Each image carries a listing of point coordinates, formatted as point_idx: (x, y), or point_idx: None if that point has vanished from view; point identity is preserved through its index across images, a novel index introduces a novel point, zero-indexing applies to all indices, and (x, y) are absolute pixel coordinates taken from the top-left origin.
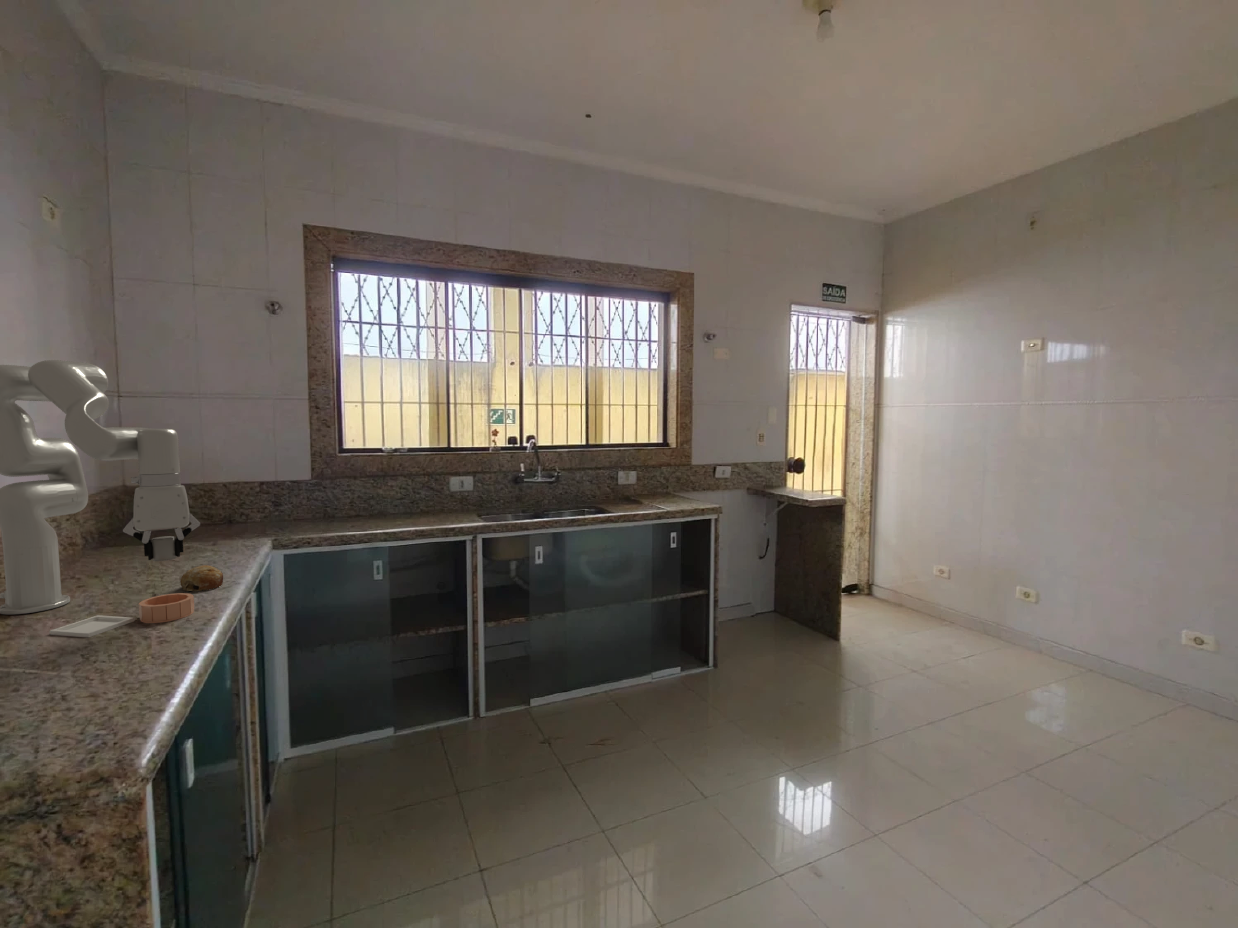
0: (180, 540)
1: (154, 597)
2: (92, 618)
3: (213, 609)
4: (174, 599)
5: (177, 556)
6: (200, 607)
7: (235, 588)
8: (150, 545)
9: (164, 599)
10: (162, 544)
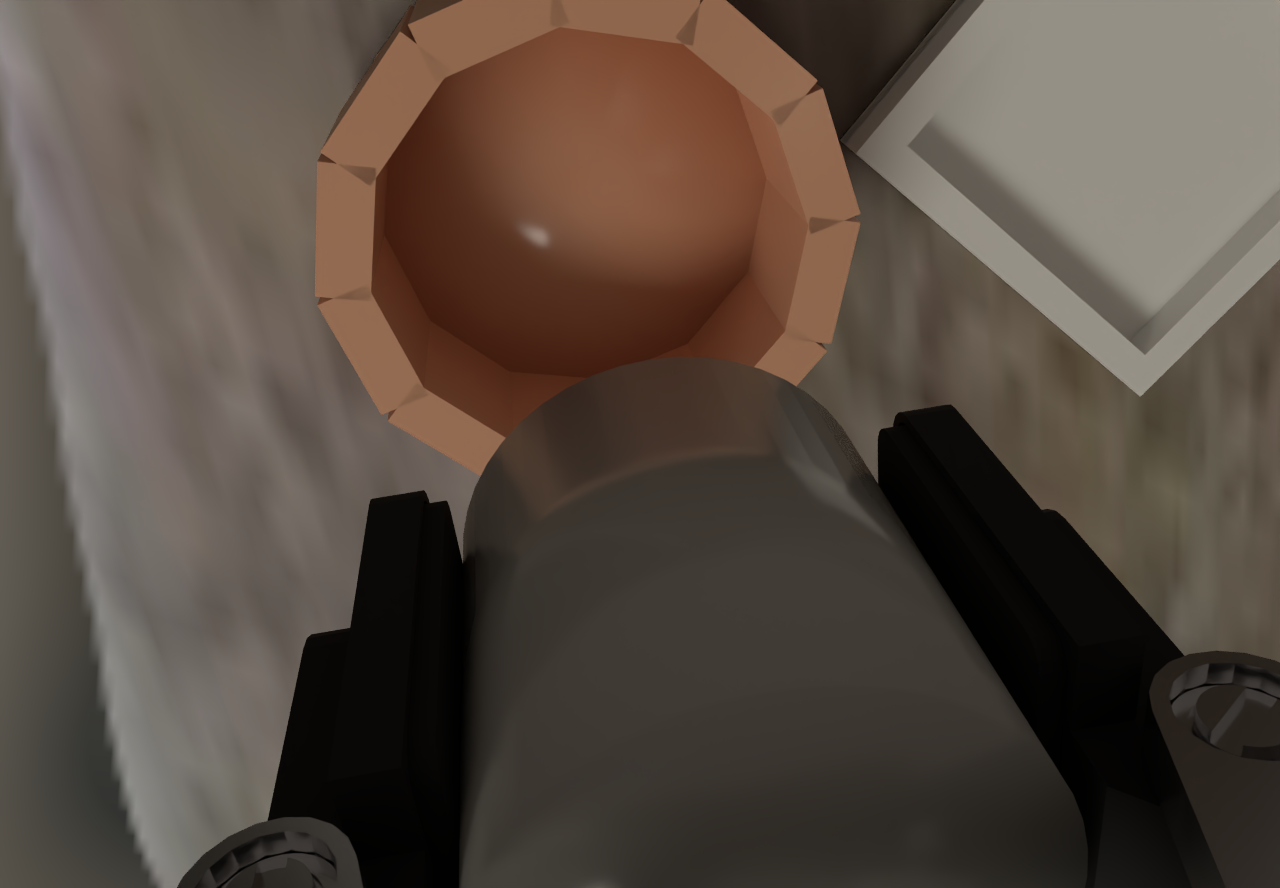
0: (318, 847)
1: None
2: (1172, 323)
3: (171, 275)
4: None
5: (417, 491)
6: (332, 406)
7: (176, 880)
8: (1041, 612)
9: None
10: (749, 586)
